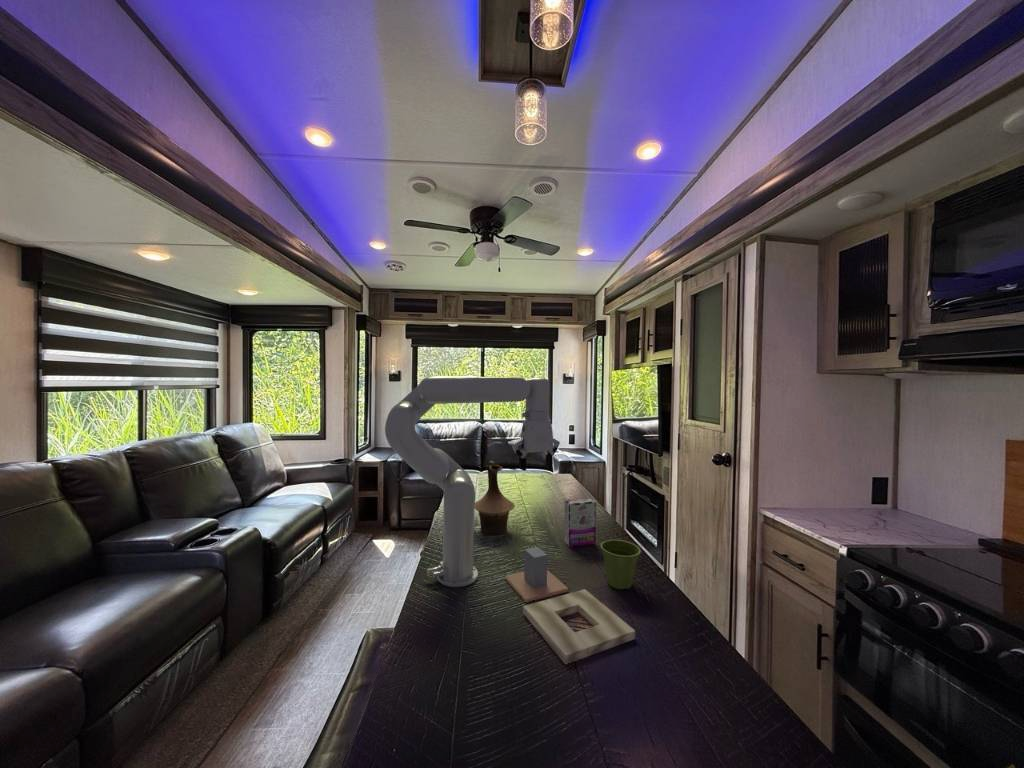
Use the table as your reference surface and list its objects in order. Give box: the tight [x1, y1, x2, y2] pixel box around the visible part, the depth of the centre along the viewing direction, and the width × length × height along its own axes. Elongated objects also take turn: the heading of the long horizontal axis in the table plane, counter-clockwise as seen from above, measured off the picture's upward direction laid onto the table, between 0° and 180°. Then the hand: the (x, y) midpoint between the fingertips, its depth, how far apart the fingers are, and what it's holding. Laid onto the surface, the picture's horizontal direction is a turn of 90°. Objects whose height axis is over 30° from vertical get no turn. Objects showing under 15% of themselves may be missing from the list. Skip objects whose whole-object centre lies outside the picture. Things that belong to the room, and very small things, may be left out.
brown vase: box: [474, 460, 516, 536], centre depth 157 cm, size 18×17×28 cm
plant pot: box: [600, 539, 642, 590], centre depth 117 cm, size 12×12×11 cm
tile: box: [504, 569, 569, 603], centre depth 115 cm, size 14×14×1 cm
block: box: [523, 546, 548, 588], centre depth 115 cm, size 4×6×9 cm
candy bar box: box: [564, 497, 597, 548], centre depth 146 cm, size 11×5×16 cm, turn 105°
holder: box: [522, 588, 636, 665], centre depth 97 cm, size 20×20×2 cm
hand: (536, 468), depth 124 cm, fingers open, 9 cm apart
